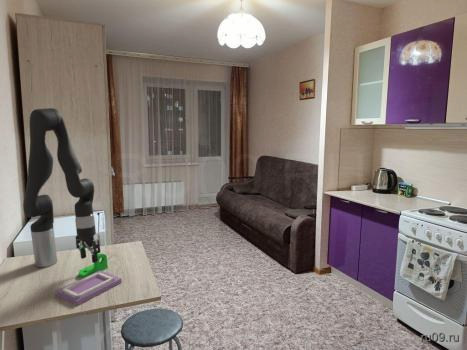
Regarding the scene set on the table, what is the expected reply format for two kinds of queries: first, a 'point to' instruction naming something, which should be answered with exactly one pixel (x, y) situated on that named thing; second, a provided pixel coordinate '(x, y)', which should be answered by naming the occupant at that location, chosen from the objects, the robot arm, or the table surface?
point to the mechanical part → (95, 266)
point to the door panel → (88, 287)
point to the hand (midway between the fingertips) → (89, 260)
